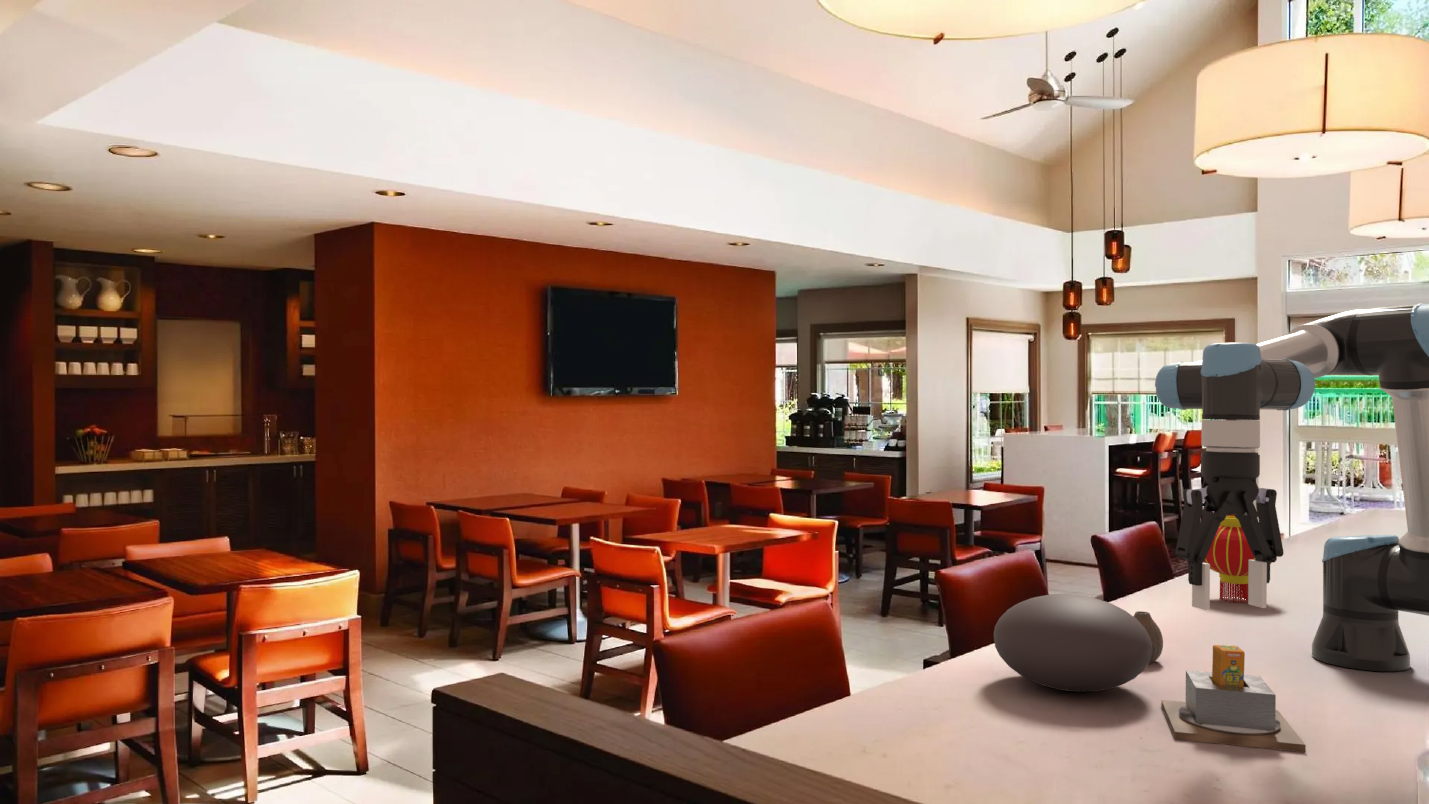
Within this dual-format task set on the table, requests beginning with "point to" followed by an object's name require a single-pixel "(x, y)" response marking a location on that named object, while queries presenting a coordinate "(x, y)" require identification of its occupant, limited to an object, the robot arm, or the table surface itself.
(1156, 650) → the vase
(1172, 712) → the walnut board
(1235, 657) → the supplement box
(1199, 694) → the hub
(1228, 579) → the lantern
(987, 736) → the table surface
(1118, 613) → the smooth stone
